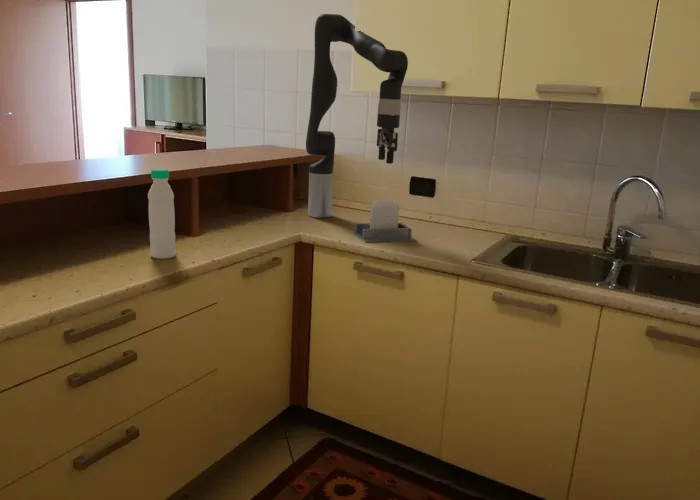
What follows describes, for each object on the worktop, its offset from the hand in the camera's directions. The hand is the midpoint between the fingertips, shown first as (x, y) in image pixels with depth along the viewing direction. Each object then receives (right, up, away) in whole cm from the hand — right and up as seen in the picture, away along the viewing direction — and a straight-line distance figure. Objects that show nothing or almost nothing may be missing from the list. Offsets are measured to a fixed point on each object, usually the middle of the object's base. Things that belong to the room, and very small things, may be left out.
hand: (385, 161), depth 199 cm
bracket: (0, -26, +4) cm, 26 cm away
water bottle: (-66, -32, -31) cm, 80 cm away
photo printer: (0, -25, +5) cm, 25 cm away
